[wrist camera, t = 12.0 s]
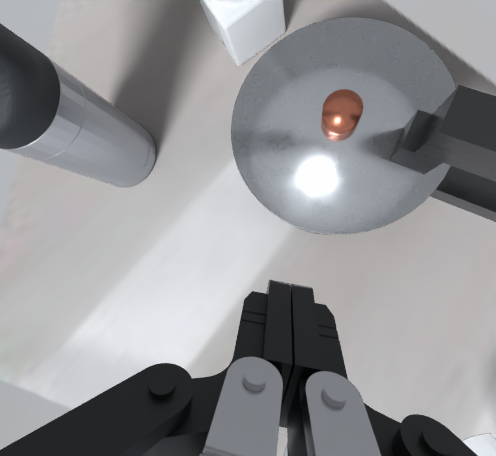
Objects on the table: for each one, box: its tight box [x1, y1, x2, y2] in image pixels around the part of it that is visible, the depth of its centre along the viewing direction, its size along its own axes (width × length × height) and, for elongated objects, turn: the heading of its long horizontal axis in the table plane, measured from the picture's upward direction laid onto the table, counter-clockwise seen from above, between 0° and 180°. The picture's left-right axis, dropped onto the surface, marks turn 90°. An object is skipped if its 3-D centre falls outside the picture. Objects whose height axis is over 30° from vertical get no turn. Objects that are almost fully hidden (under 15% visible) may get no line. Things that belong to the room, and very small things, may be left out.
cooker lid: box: [231, 17, 496, 235], centre depth 23 cm, size 28×19×9 cm, turn 65°
